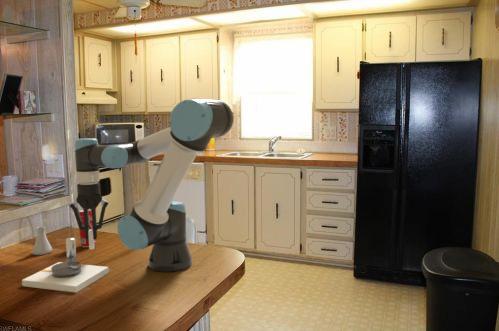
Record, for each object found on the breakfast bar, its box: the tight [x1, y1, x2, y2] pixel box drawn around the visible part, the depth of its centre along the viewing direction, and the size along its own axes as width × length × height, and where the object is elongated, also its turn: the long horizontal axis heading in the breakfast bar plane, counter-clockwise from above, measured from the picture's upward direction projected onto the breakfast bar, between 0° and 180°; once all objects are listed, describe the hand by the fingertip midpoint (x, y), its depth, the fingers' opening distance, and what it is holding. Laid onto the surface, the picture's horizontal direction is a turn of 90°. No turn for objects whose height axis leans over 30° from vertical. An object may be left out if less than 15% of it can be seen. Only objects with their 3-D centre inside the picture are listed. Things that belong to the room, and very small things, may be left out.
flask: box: [31, 226, 54, 256], centre depth 170 cm, size 7×7×10 cm
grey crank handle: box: [51, 237, 82, 277], centre depth 146 cm, size 17×9×8 cm, turn 14°
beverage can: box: [78, 208, 97, 248], centre depth 177 cm, size 6×6×15 cm
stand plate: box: [21, 261, 110, 294], centre depth 142 cm, size 20×17×2 cm
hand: (91, 248), depth 154 cm, fingers closed
